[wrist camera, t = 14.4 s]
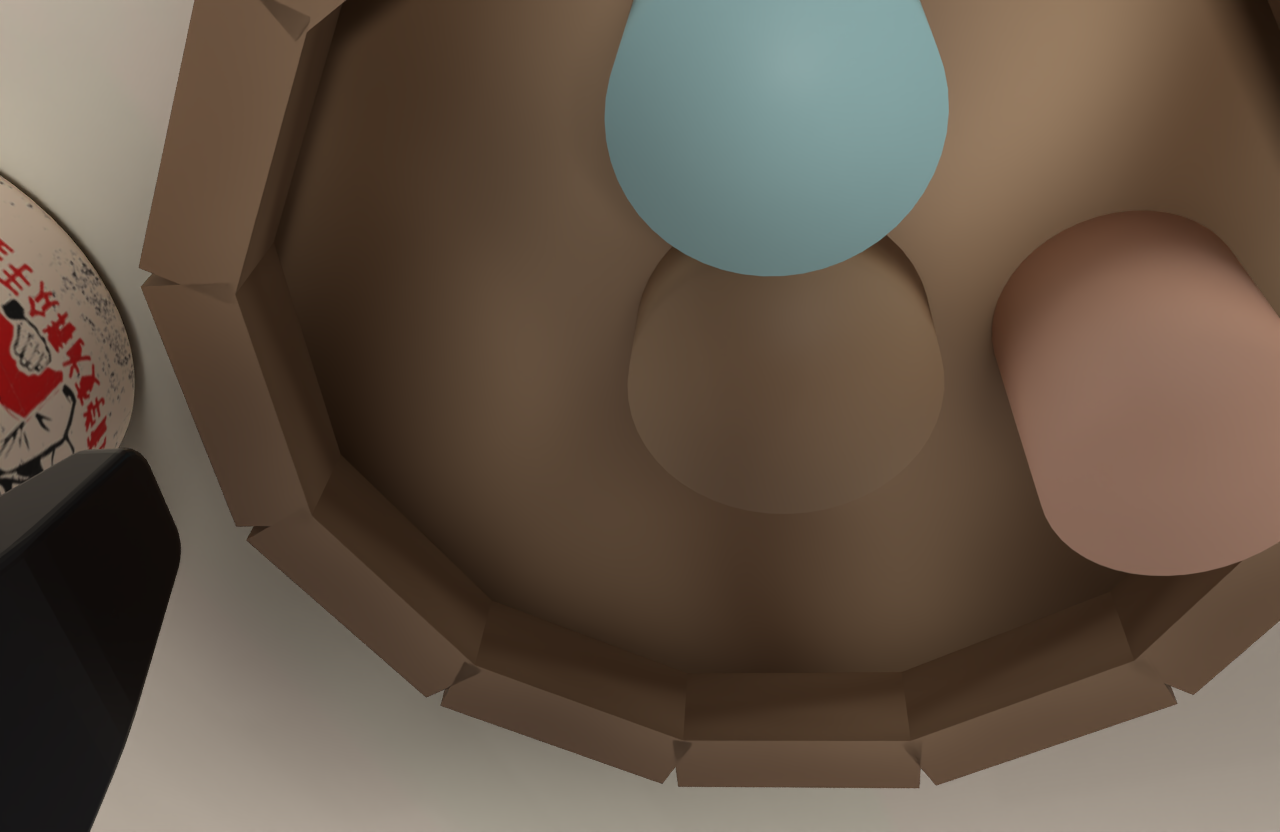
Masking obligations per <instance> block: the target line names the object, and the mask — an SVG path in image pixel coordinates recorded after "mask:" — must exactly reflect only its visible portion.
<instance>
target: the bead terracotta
mask: <svg viewBox="0 0 1280 832" xmlns="http://www.w3.org/2000/svg"><path fill="white" fill-rule="evenodd" d="M992 344H993V350H994V355H995V358H996V361H997V364H998V368H999V371H1000V374H1001V377H1002V380H1003V384H1004V387H1005V390H1006V393H1007V397H1008V400H1009V403H1010V406H1011V410H1012V413H1013V416H1014V419H1015V423H1016V426H1017V429H1018V432H1019V435H1020V439H1021V442H1022V445H1023V448H1024V452H1025V455H1026V458H1027V461H1028V465H1029V468H1030V471H1031V474H1032V478H1033V481H1034V484H1035V487H1036V490H1037V494H1038V497H1039V500H1040V503H1041V506H1042V509H1043V512H1044V515H1045V517H1046V519H1047V521H1048V522H1049V524H1050V526H1051V528H1052V529H1053V530H1054V531H1055V533H1056V534H1057V535H1058V536H1059V538H1060V539H1061V540H1062V541H1063V542H1064V543H1066V544H1067V545H1068V546H1069V547H1070V548H1071V549H1072V550H1074V551H1076V552H1077V553H1079V554H1080V555H1082V556H1083V557H1085V558H1087V559H1089V560H1091V561H1093V562H1095V563H1097V564H1099V565H1102V566H1105V567H1108V568H1111V569H1114V570H1118V571H1123V572H1127V573H1132V574H1140V575H1149V576H1174V575H1187V574H1193V573H1199V572H1206V571H1210V570H1214V569H1218V568H1222V567H1225V566H1228V565H1231V564H1234V563H1237V562H1240V561H1243V560H1245V559H1247V558H1249V557H1252V556H1254V555H1256V554H1258V553H1261V552H1262V551H1264V550H1266V549H1268V548H1270V547H1271V546H1273V545H1275V544H1277V543H1278V542H1280V318H1279V316H1278V315H1277V314H1276V312H1275V311H1274V309H1273V308H1272V307H1271V305H1270V304H1269V302H1268V301H1267V300H1266V298H1265V297H1264V295H1263V294H1262V293H1261V291H1260V290H1259V288H1258V287H1257V286H1256V284H1255V283H1254V282H1253V280H1252V279H1251V277H1250V276H1249V275H1248V273H1247V272H1246V270H1245V269H1244V268H1243V266H1242V265H1241V263H1240V262H1239V261H1238V259H1237V258H1236V256H1235V255H1234V254H1233V252H1232V251H1231V249H1230V248H1229V247H1228V246H1227V245H1226V244H1225V243H1224V241H1223V240H1222V239H1221V238H1220V237H1218V236H1217V235H1216V234H1215V233H1213V232H1212V231H1211V230H1210V229H1208V228H1206V227H1204V226H1203V225H1201V224H1199V223H1197V222H1195V221H1193V220H1190V219H1188V218H1185V217H1182V216H1179V215H1175V214H1171V213H1166V212H1158V211H1149V210H1145V211H1124V212H1116V213H1111V214H1107V215H1102V216H1098V217H1095V218H1092V219H1089V220H1086V221H1083V222H1080V223H1078V224H1076V225H1074V226H1072V227H1070V228H1067V229H1065V230H1063V231H1062V232H1060V233H1058V234H1057V235H1055V236H1053V237H1052V238H1050V239H1048V240H1047V241H1046V242H1044V243H1043V244H1042V245H1041V246H1039V247H1038V248H1037V249H1035V250H1034V251H1033V252H1032V253H1031V254H1030V255H1029V256H1028V257H1027V258H1026V259H1025V260H1024V261H1023V262H1022V263H1021V264H1020V265H1019V267H1018V268H1017V269H1016V270H1015V271H1014V273H1013V274H1012V275H1011V277H1010V279H1009V280H1008V282H1007V283H1006V285H1005V286H1004V288H1003V290H1002V293H1001V295H1000V297H999V299H998V302H997V305H996V308H995V312H994V316H993V322H992Z"/></svg>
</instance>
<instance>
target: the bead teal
mask: <svg viewBox="0 0 1280 832" xmlns="http://www.w3.org/2000/svg"><path fill="white" fill-rule="evenodd" d="M948 115H949V101H948V86H947V81H946V76H945V70H944V66H943V63H942V60H941V57H940V54H939V51H938V48H937V45H936V43H935V40H934V37H933V35H932V32H931V29H930V26H929V24H928V21H927V18H926V16H925V13H924V10H923V8H922V5H921V2H920V0H633V3H632V6H631V10H630V13H629V16H628V19H627V23H626V26H625V29H624V32H623V36H622V39H621V42H620V45H619V49H618V52H617V55H616V58H615V62H614V65H613V68H612V71H611V75H610V79H609V84H608V89H607V94H606V101H605V119H604V120H605V132H606V142H607V147H608V151H609V156H610V161H611V163H612V166H613V169H614V172H615V174H616V177H617V180H618V182H619V184H620V186H621V188H622V190H623V192H624V193H625V195H626V197H627V199H628V200H629V202H630V203H631V205H632V206H633V208H634V209H635V210H636V212H637V213H638V215H639V216H640V217H641V218H642V219H643V220H644V221H645V222H646V223H647V225H648V226H649V227H650V228H651V229H652V230H653V231H654V232H655V233H657V234H658V235H659V236H660V237H661V238H663V239H664V240H665V241H666V242H667V243H669V244H670V245H672V246H673V247H675V248H676V249H678V250H679V251H681V252H682V253H684V254H686V255H688V256H690V257H692V258H694V259H696V260H698V261H700V262H702V263H704V264H707V265H710V266H713V267H716V268H719V269H721V270H726V271H730V272H734V273H739V274H745V275H755V276H788V275H796V274H804V273H808V272H812V271H816V270H820V269H824V268H827V267H830V266H832V265H835V264H838V263H840V262H843V261H845V260H847V259H849V258H851V257H853V256H855V255H857V254H859V253H861V252H863V251H864V250H866V249H867V248H869V247H870V246H872V245H873V244H875V243H876V242H878V241H880V240H881V239H882V238H883V237H884V236H886V235H887V234H888V233H889V232H890V231H891V230H893V229H894V228H895V227H896V226H897V225H898V224H899V223H900V222H901V221H902V220H903V219H904V218H905V217H906V215H907V214H908V213H909V212H910V211H911V210H912V209H913V207H914V206H915V204H916V203H917V202H918V200H919V199H920V197H921V196H922V195H923V193H924V191H925V190H926V188H927V186H928V184H929V182H930V180H931V179H932V177H933V175H934V173H935V170H936V167H937V165H938V162H939V160H940V157H941V154H942V151H943V146H944V142H945V138H946V134H947V125H948Z"/></svg>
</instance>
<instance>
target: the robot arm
mask: <svg viewBox="0 0 1280 832" xmlns="http://www.w3.org/2000/svg"><path fill="white" fill-rule="evenodd" d="M180 555H181V543H180V538H179V533H178V530H177V527H176V525H175V523H174V520H173V518H172V516H171V514H170V511H169V509H168V507H167V504H166V502H165V500H164V498H163V495H162V493H161V491H160V488H159V486H158V484H157V481H156V479H155V477H154V475H153V472H152V470H151V468H150V466H149V464H148V462H147V460H146V459H145V458H144V457H143V456H142V455H141V454H140V453H139V452H137V451H135V450H133V449H129V448H117V449H89V450H82V451H78V452H76V453H74V454H72V455H70V456H68V457H67V458H65V459H63V460H61V461H60V462H58V463H56V464H54V465H53V466H51V467H49V468H48V469H46V470H44V471H42V472H41V473H39V474H37V475H35V476H34V477H32V478H30V479H28V480H27V481H25V482H23V483H21V484H20V485H18V486H16V487H14V488H13V489H11V490H9V491H7V492H6V493H4V494H2V495H0V832H90V830H91V828H92V826H93V823H94V821H95V818H96V816H97V814H98V811H99V809H100V806H101V804H102V802H103V799H104V797H105V794H106V792H107V790H108V787H109V785H110V782H111V780H112V778H113V775H114V773H115V770H116V767H117V765H118V762H119V760H120V757H121V754H122V752H123V749H124V747H125V744H126V741H127V738H128V735H129V732H130V729H131V726H132V723H133V720H134V717H135V714H136V711H137V707H138V704H139V700H140V697H141V694H142V690H143V687H144V683H145V680H146V677H147V673H148V670H149V666H150V663H151V660H152V656H153V653H154V649H155V646H156V643H157V639H158V636H159V632H160V629H161V626H162V622H163V619H164V615H165V612H166V609H167V605H168V602H169V598H170V595H171V592H172V588H173V585H174V581H175V578H176V575H177V571H178V568H179V563H180Z"/></svg>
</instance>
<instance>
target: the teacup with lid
mask: <svg viewBox="0 0 1280 832" xmlns="http://www.w3.org/2000/svg"><path fill="white" fill-rule="evenodd" d="M134 391H135V380H134V365H133V359H132V352H131V348H130V344H129V340H128V337H127V333H126V330H125V327H124V325H123V322H122V320H121V317H120V314H119V312H118V310H117V308H116V306H115V304H114V302H113V300H112V298H111V296H110V293H109V292H108V290H107V288H106V287H105V285H104V283H103V282H102V280H101V278H100V277H99V275H98V273H97V272H96V270H95V269H94V268H93V266H92V265H91V263H90V262H89V260H88V259H87V258H86V256H85V255H84V253H83V252H82V251H81V250H80V249H79V247H78V246H77V245H76V244H75V243H74V241H73V240H72V239H71V238H70V237H69V235H68V234H67V233H66V232H65V231H64V230H63V229H62V228H61V227H60V226H59V225H58V224H57V223H56V222H55V221H54V220H53V219H52V218H51V217H50V216H49V215H48V214H47V213H46V212H45V211H44V210H43V209H42V208H41V207H39V206H38V205H37V204H36V203H35V202H34V201H33V200H32V199H31V198H29V197H28V196H27V195H25V194H24V193H23V192H22V191H20V190H19V189H18V188H17V187H15V186H14V185H13V184H12V183H10V182H9V181H7V180H6V179H4V178H3V177H1V176H0V495H2V494H4V493H6V492H7V491H9V490H11V489H13V488H14V487H16V486H18V485H20V484H21V483H23V482H25V481H27V480H28V479H30V478H32V477H34V476H35V475H37V474H39V473H41V472H42V471H44V470H46V469H48V468H49V467H51V466H53V465H54V464H56V463H58V462H60V461H61V460H63V459H65V458H67V457H68V456H70V455H72V454H74V453H76V452H78V451H82V450H89V449H117V448H118V447H119V445H120V443H121V442H122V440H123V438H124V436H125V433H126V430H127V428H128V425H129V422H130V418H131V414H132V409H133V403H134Z"/></svg>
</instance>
